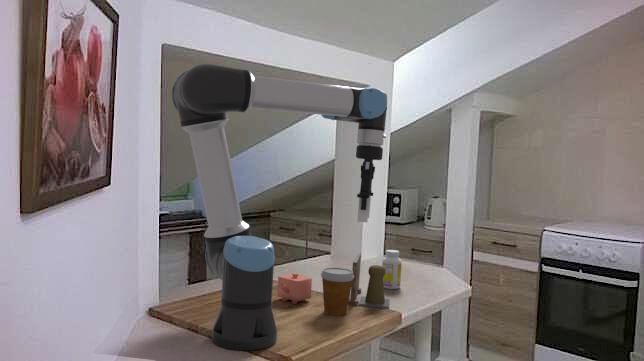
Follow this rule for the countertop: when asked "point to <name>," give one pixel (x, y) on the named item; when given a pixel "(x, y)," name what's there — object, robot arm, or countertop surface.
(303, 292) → the pink cube teapot
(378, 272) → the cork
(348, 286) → the disposable coffee cup
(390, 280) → the supplement bottle
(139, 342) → the countertop surface
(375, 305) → the coaster
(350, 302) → the screen
